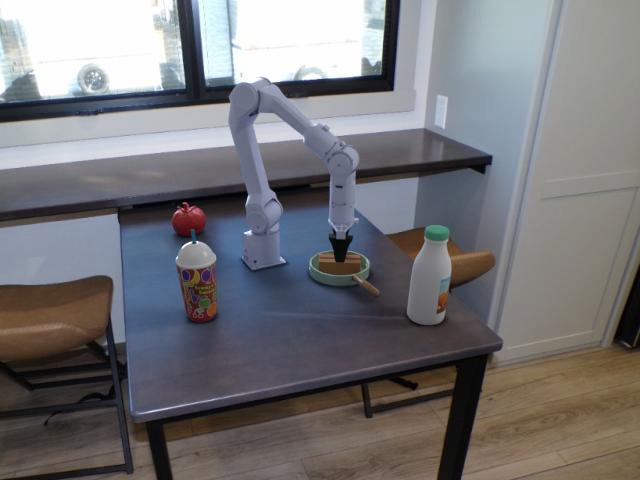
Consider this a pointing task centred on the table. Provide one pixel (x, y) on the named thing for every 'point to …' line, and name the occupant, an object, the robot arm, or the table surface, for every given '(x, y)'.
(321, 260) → the taped cardboard box
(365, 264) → the pan
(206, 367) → the table surface
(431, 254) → the milk bottle
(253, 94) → the robot arm
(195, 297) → the smoothie
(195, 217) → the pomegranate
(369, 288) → the pan handle
